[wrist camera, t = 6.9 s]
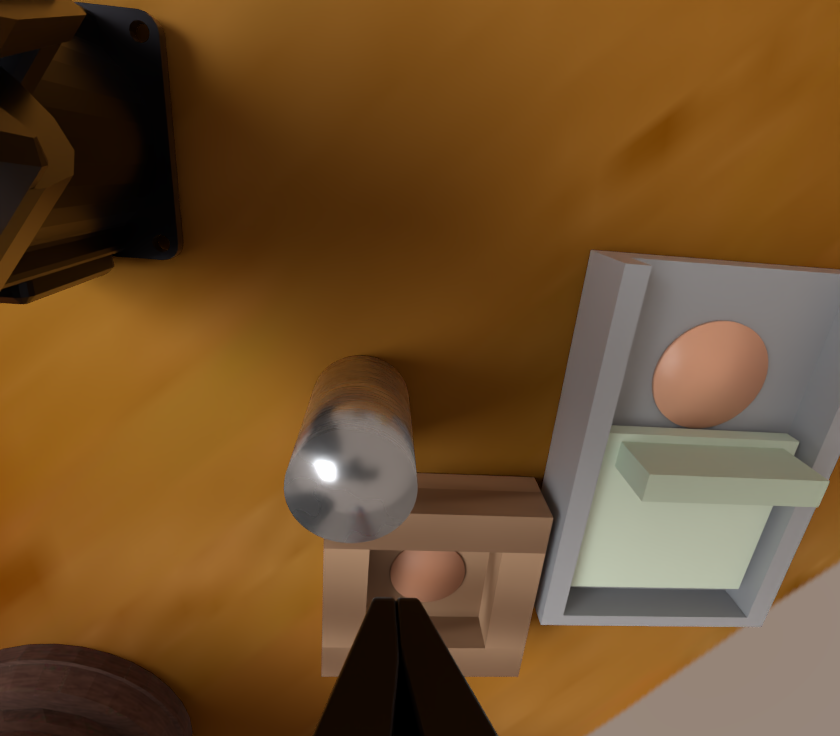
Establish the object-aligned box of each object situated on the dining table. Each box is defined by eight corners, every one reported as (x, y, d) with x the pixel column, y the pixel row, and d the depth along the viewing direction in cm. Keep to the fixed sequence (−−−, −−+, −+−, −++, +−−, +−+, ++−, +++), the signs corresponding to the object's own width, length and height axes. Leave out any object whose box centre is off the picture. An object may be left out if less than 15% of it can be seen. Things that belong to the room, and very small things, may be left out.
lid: (602, 424, 18) (636, 465, 15) (786, 433, 18) (848, 473, 16) (565, 574, 20) (589, 629, 18) (729, 577, 21) (774, 631, 18)
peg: (313, 352, 17) (282, 428, 12) (412, 358, 18) (423, 434, 13) (312, 440, 19) (284, 541, 14) (405, 443, 19) (412, 544, 14)
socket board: (331, 469, 19) (324, 511, 17) (534, 477, 20) (553, 517, 18) (328, 623, 22) (321, 676, 20) (504, 625, 23) (518, 676, 21)
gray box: (591, 249, 17) (625, 263, 14) (843, 269, 18) (916, 286, 15) (523, 574, 22) (540, 624, 19) (721, 578, 23) (761, 627, 20)
